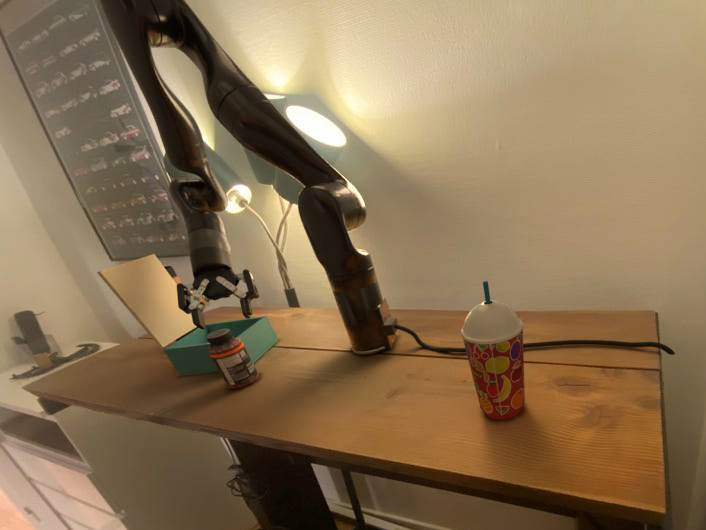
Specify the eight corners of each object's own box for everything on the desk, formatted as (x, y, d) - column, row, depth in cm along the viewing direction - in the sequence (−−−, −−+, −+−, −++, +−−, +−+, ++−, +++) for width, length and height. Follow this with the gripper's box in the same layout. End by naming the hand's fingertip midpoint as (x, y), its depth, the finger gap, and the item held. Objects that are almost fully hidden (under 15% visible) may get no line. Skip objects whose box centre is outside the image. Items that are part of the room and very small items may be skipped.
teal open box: (278, 340, 94) (267, 315, 91) (248, 367, 83) (234, 340, 79) (217, 348, 96) (204, 323, 92) (179, 376, 84) (162, 349, 81)
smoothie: (473, 397, 60) (451, 277, 51) (524, 389, 60) (512, 267, 51) (478, 431, 53) (453, 298, 43) (536, 421, 53) (524, 286, 43)
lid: (154, 253, 84) (136, 260, 85) (99, 271, 72) (79, 278, 73) (204, 321, 92) (188, 327, 93) (163, 347, 80) (144, 353, 81)
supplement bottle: (230, 380, 78) (203, 332, 73) (260, 371, 80) (236, 323, 75) (226, 393, 74) (196, 343, 68) (258, 383, 75) (232, 333, 70)
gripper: (162, 253, 75) (174, 324, 71) (239, 238, 79) (254, 305, 75) (184, 273, 82) (196, 338, 78) (254, 258, 86) (268, 320, 82)
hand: (224, 322), depth 76 cm, fingers open, 8 cm apart
